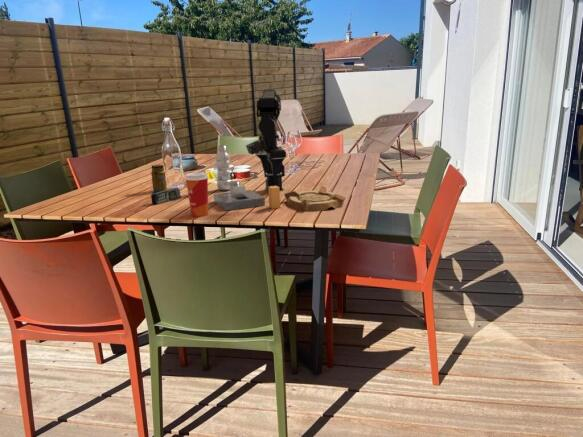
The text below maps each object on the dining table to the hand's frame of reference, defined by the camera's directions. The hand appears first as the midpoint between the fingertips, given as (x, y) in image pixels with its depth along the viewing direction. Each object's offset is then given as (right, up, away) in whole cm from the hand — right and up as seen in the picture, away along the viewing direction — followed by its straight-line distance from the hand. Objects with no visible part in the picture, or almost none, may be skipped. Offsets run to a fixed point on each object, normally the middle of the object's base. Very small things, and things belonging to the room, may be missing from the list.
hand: (270, 174), depth 164 cm
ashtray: (+17, -11, +8) cm, 22 cm away
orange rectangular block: (+2, -12, +4) cm, 13 cm away
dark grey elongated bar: (-43, -9, +18) cm, 48 cm away
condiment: (-52, -4, +35) cm, 63 cm away
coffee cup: (-26, -15, -4) cm, 30 cm away
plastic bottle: (-22, -4, +35) cm, 42 cm away
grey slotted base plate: (-13, -10, +11) cm, 20 cm away
